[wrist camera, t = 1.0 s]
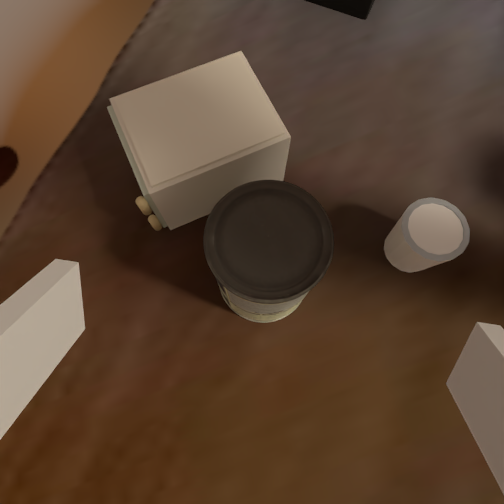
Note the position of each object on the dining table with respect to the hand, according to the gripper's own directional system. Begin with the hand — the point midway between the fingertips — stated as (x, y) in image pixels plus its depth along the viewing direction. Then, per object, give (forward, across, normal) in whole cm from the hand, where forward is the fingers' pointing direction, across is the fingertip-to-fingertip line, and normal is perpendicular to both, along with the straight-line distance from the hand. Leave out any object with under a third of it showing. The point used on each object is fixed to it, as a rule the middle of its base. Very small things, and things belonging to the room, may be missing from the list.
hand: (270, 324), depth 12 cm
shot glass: (+30, +17, -9) cm, 36 cm away
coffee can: (+27, 0, -14) cm, 30 cm away
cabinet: (+36, -8, -4) cm, 37 cm away
